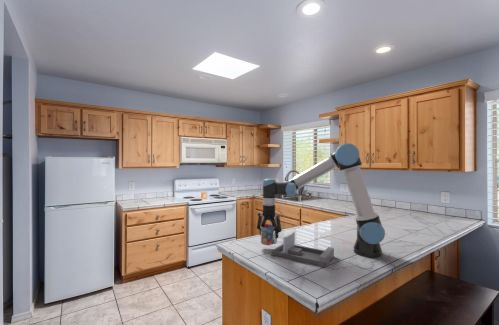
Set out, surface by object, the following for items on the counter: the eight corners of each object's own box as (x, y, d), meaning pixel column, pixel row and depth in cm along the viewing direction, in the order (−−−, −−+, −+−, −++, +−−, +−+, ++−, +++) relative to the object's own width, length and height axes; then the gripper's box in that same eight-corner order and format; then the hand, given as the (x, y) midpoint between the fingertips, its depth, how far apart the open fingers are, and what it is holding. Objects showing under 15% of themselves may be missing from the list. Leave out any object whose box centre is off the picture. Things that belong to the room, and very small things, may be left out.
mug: (265, 247, 146) (265, 228, 146) (257, 242, 154) (257, 225, 154) (282, 243, 152) (282, 226, 152) (273, 239, 160) (273, 222, 160)
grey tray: (333, 256, 142) (333, 247, 142) (325, 267, 127) (325, 257, 127) (284, 246, 157) (284, 238, 157) (271, 255, 143) (271, 246, 143)
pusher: (304, 250, 149) (304, 233, 149) (295, 258, 137) (295, 239, 137) (292, 248, 153) (293, 231, 152) (283, 255, 141) (283, 237, 141)
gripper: (287, 205, 151) (287, 243, 151) (257, 202, 162) (256, 237, 162) (282, 207, 144) (282, 247, 145) (250, 203, 156) (250, 240, 156)
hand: (268, 242), depth 153 cm, fingers closed on mug, 8 cm apart
